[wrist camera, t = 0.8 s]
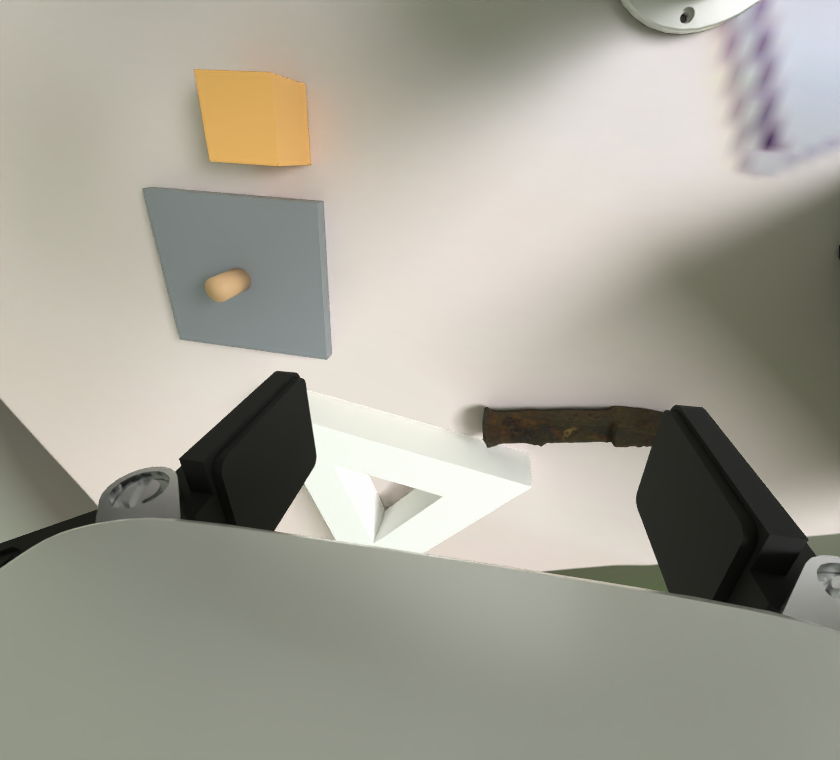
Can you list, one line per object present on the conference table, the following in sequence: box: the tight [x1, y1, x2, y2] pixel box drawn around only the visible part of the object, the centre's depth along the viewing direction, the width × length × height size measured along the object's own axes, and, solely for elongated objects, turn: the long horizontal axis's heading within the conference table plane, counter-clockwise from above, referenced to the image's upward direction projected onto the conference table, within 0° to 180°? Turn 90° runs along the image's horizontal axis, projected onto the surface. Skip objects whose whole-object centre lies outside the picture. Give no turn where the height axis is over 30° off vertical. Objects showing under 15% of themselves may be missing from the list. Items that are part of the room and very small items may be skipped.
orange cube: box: [194, 69, 311, 166], centre depth 34 cm, size 6×6×6 cm
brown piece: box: [483, 406, 663, 448], centre depth 43 cm, size 19×4×5 cm, turn 96°
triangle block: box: [304, 390, 532, 553], centre depth 53 cm, size 30×26×6 cm
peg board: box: [142, 187, 332, 360], centre depth 42 cm, size 16×18×6 cm
